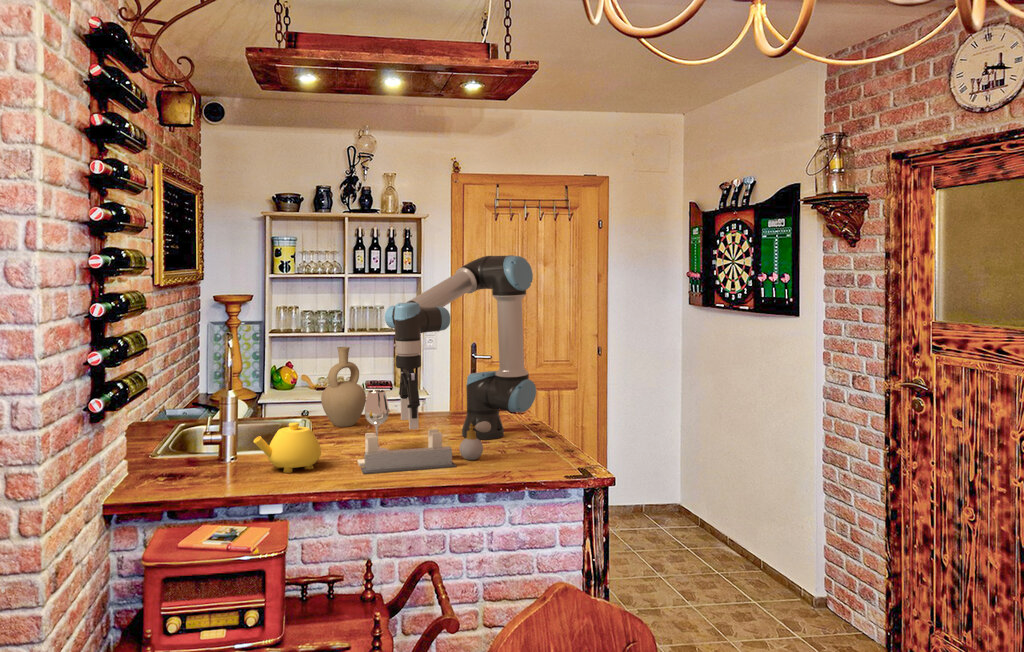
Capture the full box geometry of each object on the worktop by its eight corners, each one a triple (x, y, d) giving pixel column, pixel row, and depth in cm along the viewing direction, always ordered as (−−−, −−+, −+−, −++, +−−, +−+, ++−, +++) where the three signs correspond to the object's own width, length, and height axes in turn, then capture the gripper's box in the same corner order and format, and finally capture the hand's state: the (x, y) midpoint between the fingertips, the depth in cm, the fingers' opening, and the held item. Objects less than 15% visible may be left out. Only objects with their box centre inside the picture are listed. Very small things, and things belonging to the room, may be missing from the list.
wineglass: (384, 454, 254) (383, 393, 253) (361, 453, 256) (360, 392, 254) (392, 449, 262) (392, 389, 260) (370, 447, 264) (369, 388, 262)
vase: (345, 419, 311) (344, 344, 309) (375, 424, 302) (374, 347, 299) (312, 426, 298) (311, 347, 296) (342, 432, 288) (341, 350, 286)
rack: (445, 456, 253) (445, 428, 252) (449, 460, 247) (449, 432, 246) (357, 462, 244) (357, 433, 244) (359, 467, 238) (359, 438, 238)
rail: (449, 462, 243) (449, 446, 243) (451, 465, 240) (451, 448, 239) (364, 468, 235) (364, 451, 235) (366, 471, 232) (366, 454, 231)
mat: (451, 462, 245) (451, 460, 245) (456, 467, 239) (456, 465, 239) (360, 469, 236) (360, 467, 236) (363, 474, 230) (363, 472, 230)
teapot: (262, 479, 224) (261, 432, 223) (246, 468, 237) (245, 423, 236) (329, 469, 236) (328, 424, 235) (309, 458, 248) (309, 416, 247)
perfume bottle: (454, 458, 250) (454, 421, 249) (480, 454, 256) (480, 417, 255) (468, 463, 244) (468, 425, 243) (493, 458, 250) (493, 421, 249)
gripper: (388, 350, 246) (390, 416, 248) (403, 360, 222) (404, 434, 224) (412, 348, 248) (414, 415, 250) (429, 359, 224) (430, 432, 226)
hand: (409, 424), depth 237 cm, fingers open, 13 cm apart
